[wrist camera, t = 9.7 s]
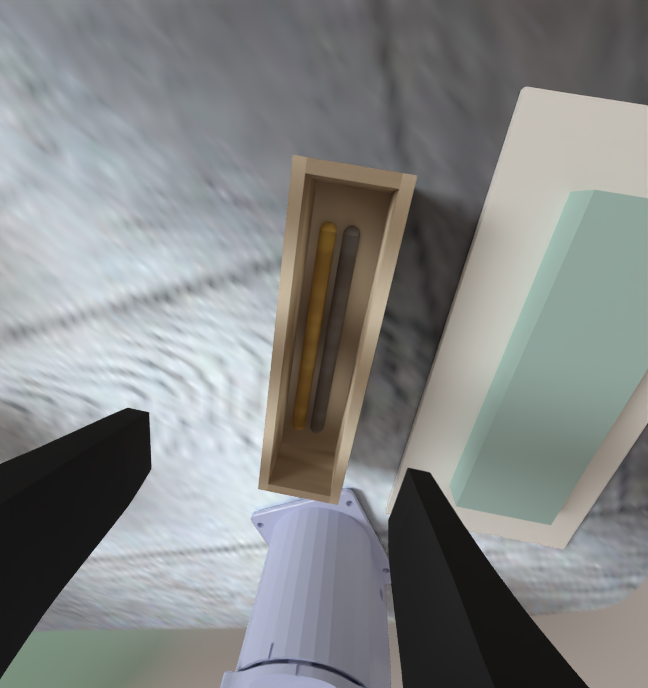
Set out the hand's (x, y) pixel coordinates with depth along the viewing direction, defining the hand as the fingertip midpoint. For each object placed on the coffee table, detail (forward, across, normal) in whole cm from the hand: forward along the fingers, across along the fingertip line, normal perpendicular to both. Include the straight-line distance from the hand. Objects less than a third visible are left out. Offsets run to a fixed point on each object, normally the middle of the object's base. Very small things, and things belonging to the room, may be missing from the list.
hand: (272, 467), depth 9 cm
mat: (+10, -13, 0) cm, 16 cm away
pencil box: (+10, -1, 0) cm, 10 cm away
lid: (+10, -13, -1) cm, 16 cm away
